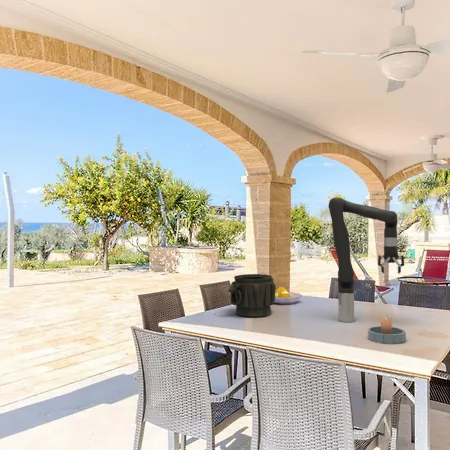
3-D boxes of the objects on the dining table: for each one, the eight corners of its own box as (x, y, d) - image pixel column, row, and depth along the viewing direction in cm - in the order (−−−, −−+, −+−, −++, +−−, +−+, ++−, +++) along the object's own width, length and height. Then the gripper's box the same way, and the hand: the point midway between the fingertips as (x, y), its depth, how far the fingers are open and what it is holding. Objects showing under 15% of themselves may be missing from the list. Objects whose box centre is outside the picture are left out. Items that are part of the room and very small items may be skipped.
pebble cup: (381, 338, 231) (381, 317, 231) (380, 335, 236) (380, 315, 236) (392, 338, 230) (392, 317, 230) (391, 335, 235) (390, 315, 235)
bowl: (369, 343, 226) (369, 334, 226) (366, 334, 244) (366, 325, 243) (408, 344, 222) (408, 335, 222) (402, 335, 240) (401, 326, 240)
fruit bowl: (306, 301, 344) (306, 286, 344) (292, 307, 321) (292, 291, 321) (273, 298, 359) (273, 283, 359) (257, 303, 336) (257, 288, 336)
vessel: (225, 318, 288) (224, 279, 288) (236, 308, 319) (235, 273, 319) (273, 320, 281) (272, 279, 281) (279, 309, 312) (278, 273, 312)
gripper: (378, 245, 260) (378, 274, 260) (404, 245, 257) (405, 274, 257) (377, 245, 267) (377, 272, 267) (402, 244, 264) (403, 272, 264)
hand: (391, 273), depth 262 cm, fingers open, 8 cm apart
